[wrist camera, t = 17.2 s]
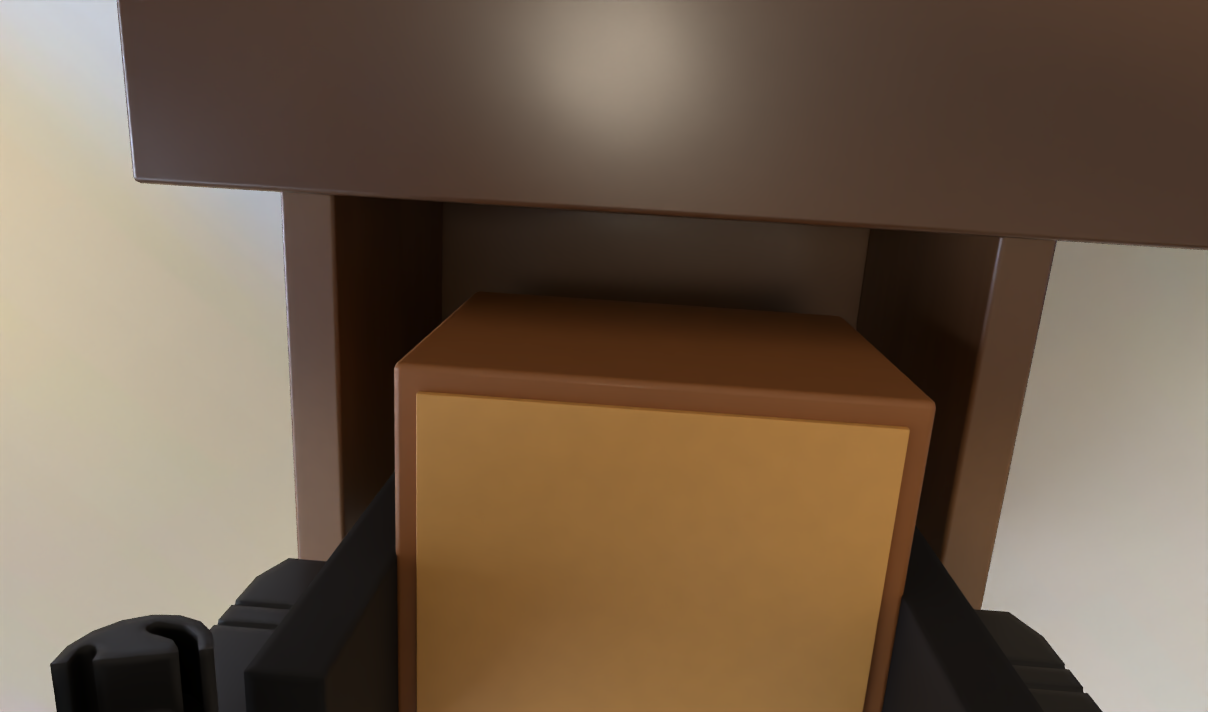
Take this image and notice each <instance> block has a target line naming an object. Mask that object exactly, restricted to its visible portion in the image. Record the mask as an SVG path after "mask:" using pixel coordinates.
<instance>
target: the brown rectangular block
mask: <svg viewBox="0 0 1208 712" xmlns="http://www.w3.org/2000/svg"><path fill="white" fill-rule="evenodd" d="M935 410H936V406H935V402H934V401H933V400H932V399H931V398H929V397H928V396H927V395H926V394H925V393H924V392H923V391H922V390H921V389H920V388H919V387H917V386H916V385H915V384H914V383H913V382H912V381H911V380H910V379H909V378H908V377H907V376H906V375H904V374H903V373H902V372H901V371H900V370H899V369H898V368H897V367H896V366H895V365H894V364H892V363H891V362H890V361H889V360H888V359H887V358H886V357H885V356H884V355H883V354H882V353H880V352H879V351H878V350H877V349H876V348H875V347H874V346H873V345H872V344H871V343H870V342H868V341H867V340H866V339H865V338H864V337H863V336H862V335H861V334H860V333H859V332H858V331H856V330H855V329H854V328H853V327H852V326H851V325H850V324H849V323H848V322H847V321H846V320H844V319H843V318H842V317H840V316H832V315H817V314H802V313H788V312H773V311H759V310H744V309H730V308H715V307H700V306H686V305H671V304H657V303H642V302H627V301H613V300H598V299H584V298H569V297H555V296H540V295H525V294H511V293H496V292H482V291H479V292H476V293H475V294H474V295H472V296H471V297H470V298H469V299H468V300H467V301H466V302H465V303H463V304H462V305H461V306H460V307H459V308H458V309H457V310H456V311H454V312H453V313H452V314H451V315H450V316H449V317H448V318H447V319H445V320H444V321H443V322H442V323H441V324H440V325H439V326H438V327H437V328H435V329H434V330H433V331H432V332H431V333H430V334H429V335H428V336H426V337H425V338H424V339H423V340H422V341H421V342H420V343H419V344H417V345H416V346H415V347H414V348H413V349H412V350H411V351H410V352H409V353H407V354H406V355H405V356H404V357H403V358H402V359H401V360H400V361H398V362H397V363H396V365H395V368H394V415H395V531H396V555H397V604H398V707H399V712H882V708H883V702H884V697H885V691H886V685H887V679H888V673H889V668H890V662H891V656H892V650H893V645H894V639H895V633H896V627H897V622H898V616H899V610H900V604H901V599H902V595H903V592H904V587H905V581H906V575H907V570H908V564H909V558H910V553H911V547H912V541H913V535H914V530H915V524H916V518H917V513H918V507H919V501H920V496H921V490H922V484H923V478H924V473H925V467H926V461H927V456H928V450H929V444H930V439H931V433H932V427H933V421H934V416H935Z"/></svg>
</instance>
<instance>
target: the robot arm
mask: <svg viewBox="0 0 1208 712" xmlns="http://www.w3.org/2000/svg"><path fill="white" fill-rule="evenodd" d="M50 667H51V674H52V681H53V688H54V695H55V702H56V709H57V712H399V707H398V604H397V555H396V531H395V471H394V472H393V474H392V475H391V476H390V478H389V479H388V480H387V482H386V483H385V484H384V486H383V487H382V488H381V490H380V491H379V492H378V494H377V495H376V496H375V498H374V499H373V500H372V502H371V503H370V504H369V506H368V507H367V508H366V509H365V511H364V512H363V513H362V515H361V516H360V517H359V519H358V520H357V521H356V523H355V524H354V525H353V527H352V528H351V529H350V531H349V532H348V533H347V535H346V536H345V537H344V539H343V540H342V541H341V543H340V544H339V545H338V547H337V548H336V549H335V551H334V552H333V553H332V555H331V556H330V557H329V559H328V560H327V561H318V560H305V559H292V558H288V559H287V560H285V561H283V562H282V563H280V564H278V565H276V566H275V567H273V568H271V569H269V570H268V571H266V572H264V573H262V574H261V575H259V576H257V577H256V578H255V579H254V580H253V581H252V583H251V584H250V585H249V586H248V587H247V588H246V589H245V590H244V592H243V593H242V594H241V595H240V596H239V597H238V598H237V600H236V603H235V605H231V606H230V607H229V609H228V610H227V611H226V612H225V613H224V614H223V615H222V616H221V618H220V619H219V620H218V625H214V626H213V627H212V628H211V629H210V630H209V629H208V628H207V627H206V626H205V625H204V624H203V623H202V622H201V621H197V620H194V619H191V618H187V617H184V616H181V615H149V616H144V617H138V618H132V619H127V620H122V621H119V622H116V623H114V624H111V625H108V626H105V627H103V628H100V629H97V630H94V631H92V632H90V633H89V634H87V635H85V636H84V637H82V638H80V639H79V640H77V641H75V642H74V643H72V644H70V645H69V646H67V647H66V648H65V649H64V650H63V651H62V652H61V653H60V654H59V655H58V657H57V658H56V659H55V660H54V661H53V662H52V663H51V664H50ZM882 712H1102V711H1101V709H1100V708H1099V707H1098V706H1097V704H1096V703H1095V702H1094V701H1093V699H1092V698H1091V697H1090V696H1089V694H1088V693H1084V692H1083V687H1082V685H1081V684H1080V683H1079V682H1078V680H1077V679H1076V678H1075V677H1074V675H1073V674H1072V673H1071V671H1070V670H1067V669H1065V664H1064V663H1063V661H1062V660H1061V659H1060V658H1059V656H1058V655H1057V654H1056V652H1055V651H1054V650H1053V649H1052V647H1051V646H1050V645H1049V644H1048V642H1047V641H1046V640H1045V638H1044V637H1043V636H1041V635H1040V634H1039V633H1037V632H1036V631H1034V630H1033V629H1032V628H1030V627H1029V626H1027V625H1026V624H1025V623H1023V622H1022V621H1020V620H1019V619H1018V618H1016V617H1015V616H1014V615H1012V614H1011V613H1009V612H1001V611H989V610H976V609H973V608H972V606H971V605H970V603H969V602H968V600H967V599H966V597H965V596H964V594H963V593H962V592H961V590H960V589H959V587H958V586H957V584H956V583H955V581H954V580H953V578H952V577H951V576H950V574H949V573H948V571H947V570H946V568H945V567H944V565H943V564H942V562H941V561H940V560H939V558H938V557H937V555H936V554H935V552H934V551H933V549H932V548H931V547H930V545H929V544H928V542H927V541H926V539H925V538H924V536H923V535H922V533H921V532H920V531H919V529H918V528H917V526H916V525H915V530H914V535H913V541H912V547H911V553H910V558H909V564H908V570H907V575H906V581H905V587H904V592H903V595H902V599H901V604H900V610H899V616H898V622H897V627H896V633H895V639H894V645H893V650H892V656H891V662H890V668H889V673H888V679H887V685H886V691H885V697H884V702H883V708H882Z"/></svg>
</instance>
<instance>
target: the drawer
mask: <svg viewBox="0 0 1208 712" xmlns="http://www.w3.org/2000/svg"><path fill="white" fill-rule="evenodd" d="M281 207H282V228H283V249H284V270H285V290H286V311H287V332H288V353H289V374H290V395H291V416H292V437H293V457H294V478H295V499H296V520H297V541H298V559H305V560H318V561H327V560H328V559H329V557H330V556H331V555H332V553H333V552H334V551H335V549H336V548H337V547H338V545H339V544H340V543H341V541H342V540H343V539H344V537H345V536H346V535H347V533H348V532H349V531H350V529H351V528H352V527H353V525H354V524H355V523H356V521H357V520H358V519H359V517H360V516H361V515H362V513H363V512H364V511H365V509H366V508H367V507H368V506H369V504H370V503H371V502H372V500H373V499H374V498H375V496H376V495H377V494H378V492H379V491H380V490H381V488H382V487H383V486H384V484H385V483H386V482H387V480H388V479H389V478H390V476H391V475H392V474H393V472H394V471H395V415H394V368H395V365H396V363H397V362H398V361H400V360H401V359H402V358H403V357H404V356H405V355H406V354H407V353H409V352H410V351H411V350H412V349H413V348H414V347H415V346H416V345H417V344H419V343H420V342H421V341H422V340H423V339H424V338H425V337H426V336H428V335H429V334H430V333H431V332H432V331H433V330H434V329H435V328H437V327H438V326H439V325H440V324H441V323H442V322H443V321H444V320H445V319H447V318H448V317H449V316H450V315H451V314H452V313H453V312H454V311H456V310H457V309H458V308H459V307H460V306H461V305H462V304H463V303H465V302H466V301H467V300H468V299H469V298H470V297H471V296H472V295H474V294H475V293H476V292H479V291H482V292H496V293H511V294H525V295H540V296H555V297H569V298H584V299H598V300H613V301H627V302H642V303H657V304H671V305H686V306H700V307H715V308H730V309H744V310H759V311H773V312H788V313H802V314H817V315H832V316H840V317H842V318H843V319H844V320H846V321H847V322H848V323H849V324H850V325H851V326H852V327H853V328H854V329H855V330H856V331H858V332H859V333H860V334H861V335H862V336H863V337H864V338H865V339H866V340H867V341H868V342H870V343H871V344H872V345H873V346H874V347H875V348H876V349H877V350H878V351H879V352H880V353H882V354H883V355H884V356H885V357H886V358H887V359H888V360H889V361H890V362H891V363H892V364H894V365H895V366H896V367H897V368H898V369H899V370H900V371H901V372H902V373H903V374H904V375H906V376H907V377H908V378H909V379H910V380H911V381H912V382H913V383H914V384H915V385H916V386H917V387H919V388H920V389H921V390H922V391H923V392H924V393H925V394H926V395H927V396H928V397H929V398H931V399H932V400H933V401H934V402H935V406H936V410H935V416H934V421H933V427H932V433H931V439H930V444H929V450H928V456H927V461H926V467H925V473H924V478H923V484H922V490H921V496H920V501H919V507H918V513H917V518H916V524H915V525H916V526H917V528H918V529H919V531H920V532H921V533H922V535H923V536H924V538H925V539H926V541H927V542H928V544H929V545H930V547H931V548H932V549H933V551H934V552H935V554H936V555H937V557H938V558H939V560H940V561H941V562H942V564H943V565H944V567H945V568H946V570H947V571H948V573H949V574H950V576H951V577H952V578H953V580H954V581H955V583H956V584H957V586H958V587H959V589H960V590H961V592H962V593H963V594H964V596H965V597H966V599H967V600H968V602H969V603H970V605H971V606H972V608H973V609H976V610H981V606H982V601H983V596H984V591H985V586H986V582H987V577H988V572H989V567H990V562H991V557H992V552H993V548H994V543H995V538H996V533H997V528H998V523H999V518H1000V514H1001V509H1002V504H1003V499H1004V494H1005V489H1006V484H1007V480H1008V475H1009V470H1010V465H1011V460H1012V455H1013V450H1014V446H1015V441H1016V436H1017V431H1018V426H1019V421H1020V416H1021V412H1022V407H1023V402H1024V397H1025V392H1026V387H1027V383H1028V378H1029V373H1030V368H1031V363H1032V358H1033V353H1034V349H1035V344H1036V339H1037V334H1038V329H1039V324H1040V319H1041V315H1042V310H1043V305H1044V300H1045V295H1046V290H1047V285H1048V281H1049V276H1050V271H1051V266H1052V261H1053V256H1054V251H1055V247H1056V242H1057V241H1054V240H1038V239H1022V238H1006V237H990V236H974V235H958V234H942V233H926V232H911V231H895V230H879V229H863V228H847V227H831V226H815V225H799V224H783V223H767V222H752V221H736V220H720V219H704V218H688V217H672V216H656V215H640V214H624V213H608V212H593V211H577V210H561V209H545V208H529V207H513V206H497V205H481V204H465V203H449V202H434V201H418V200H402V199H386V198H370V197H354V196H338V195H322V194H306V193H290V192H281Z"/></svg>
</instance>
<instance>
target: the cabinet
mask: <svg viewBox="0 0 1208 712" xmlns="http://www.w3.org/2000/svg"><path fill="white" fill-rule="evenodd" d="M117 8H118V19H119V29H120V40H121V50H122V61H123V71H124V82H125V93H126V103H127V114H128V124H129V135H130V145H131V156H132V166H133V176H134V179H135V180H136V181H138V182H140V183H147V184H163V185H179V186H195V187H211V188H227V189H243V190H259V191H275V192H290V193H306V194H322V195H338V196H354V197H370V198H386V199H402V200H418V201H434V202H449V203H465V204H481V205H497V206H513V207H529V208H545V209H561V210H577V211H593V212H608V213H624V214H640V215H656V216H672V217H688V218H704V219H720V220H736V221H752V222H767V223H783V224H799V225H815V226H831V227H847V228H863V229H879V230H895V231H911V232H926V233H942V234H958V235H974V236H990V237H1006V238H1022V239H1038V240H1054V241H1070V242H1085V243H1101V244H1117V245H1133V246H1149V247H1165V248H1181V249H1197V250H1208V0H117Z"/></svg>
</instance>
